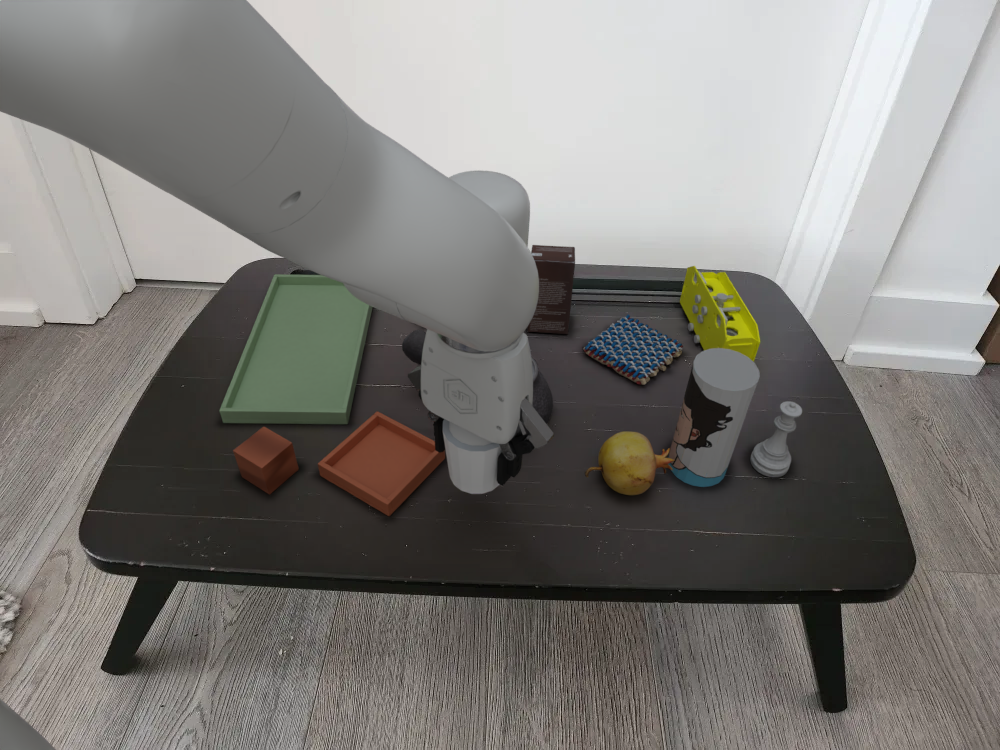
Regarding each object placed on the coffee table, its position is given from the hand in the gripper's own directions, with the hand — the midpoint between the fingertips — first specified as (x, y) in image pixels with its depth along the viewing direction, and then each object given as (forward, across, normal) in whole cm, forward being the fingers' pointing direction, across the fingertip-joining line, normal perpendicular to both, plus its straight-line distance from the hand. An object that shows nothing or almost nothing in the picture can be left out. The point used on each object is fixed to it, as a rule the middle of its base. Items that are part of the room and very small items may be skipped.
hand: (476, 458), depth 73 cm
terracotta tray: (+9, -12, -1) cm, 15 cm away
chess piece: (+8, +24, +25) cm, 36 cm away
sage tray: (+8, -35, +10) cm, 37 cm away
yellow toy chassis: (+8, +10, +44) cm, 46 cm away
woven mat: (+8, +2, +34) cm, 35 cm away
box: (+8, -10, +33) cm, 36 cm away
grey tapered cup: (+2, 0, 0) cm, 2 cm away
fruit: (+9, +12, +13) cm, 20 cm away
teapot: (+9, -10, +14) cm, 19 cm away
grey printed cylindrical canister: (+8, +18, +20) cm, 28 cm away
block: (+9, -22, -9) cm, 26 cm away
